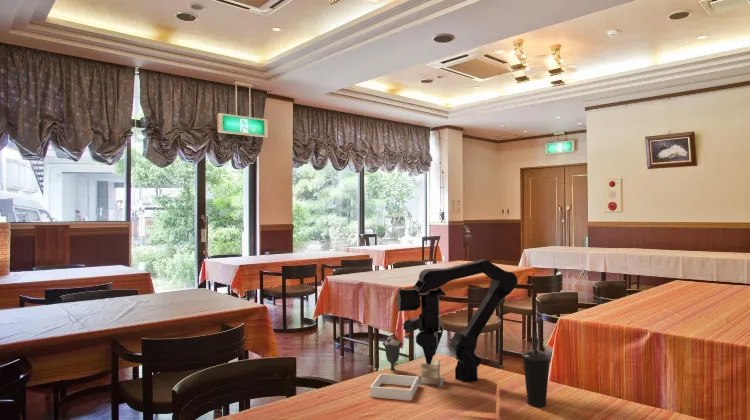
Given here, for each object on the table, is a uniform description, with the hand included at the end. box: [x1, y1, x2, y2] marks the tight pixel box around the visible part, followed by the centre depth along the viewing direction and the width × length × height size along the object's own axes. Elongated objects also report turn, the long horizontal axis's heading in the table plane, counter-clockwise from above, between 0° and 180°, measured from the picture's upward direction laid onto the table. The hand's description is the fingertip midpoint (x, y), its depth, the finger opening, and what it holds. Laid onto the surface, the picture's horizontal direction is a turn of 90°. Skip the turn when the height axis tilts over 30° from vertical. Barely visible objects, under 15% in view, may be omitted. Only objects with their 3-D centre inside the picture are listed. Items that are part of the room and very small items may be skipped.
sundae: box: [382, 329, 404, 372], centre depth 161 cm, size 7×7×15 cm
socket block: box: [420, 358, 441, 385], centre depth 149 cm, size 5×5×6 cm
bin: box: [369, 373, 420, 401], centre depth 141 cm, size 12×12×4 cm
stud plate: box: [418, 375, 446, 388], centre depth 149 cm, size 8×8×5 cm
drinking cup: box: [521, 331, 551, 408], centre depth 134 cm, size 8×8×20 cm
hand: (430, 359), depth 149 cm, fingers open, 9 cm apart
